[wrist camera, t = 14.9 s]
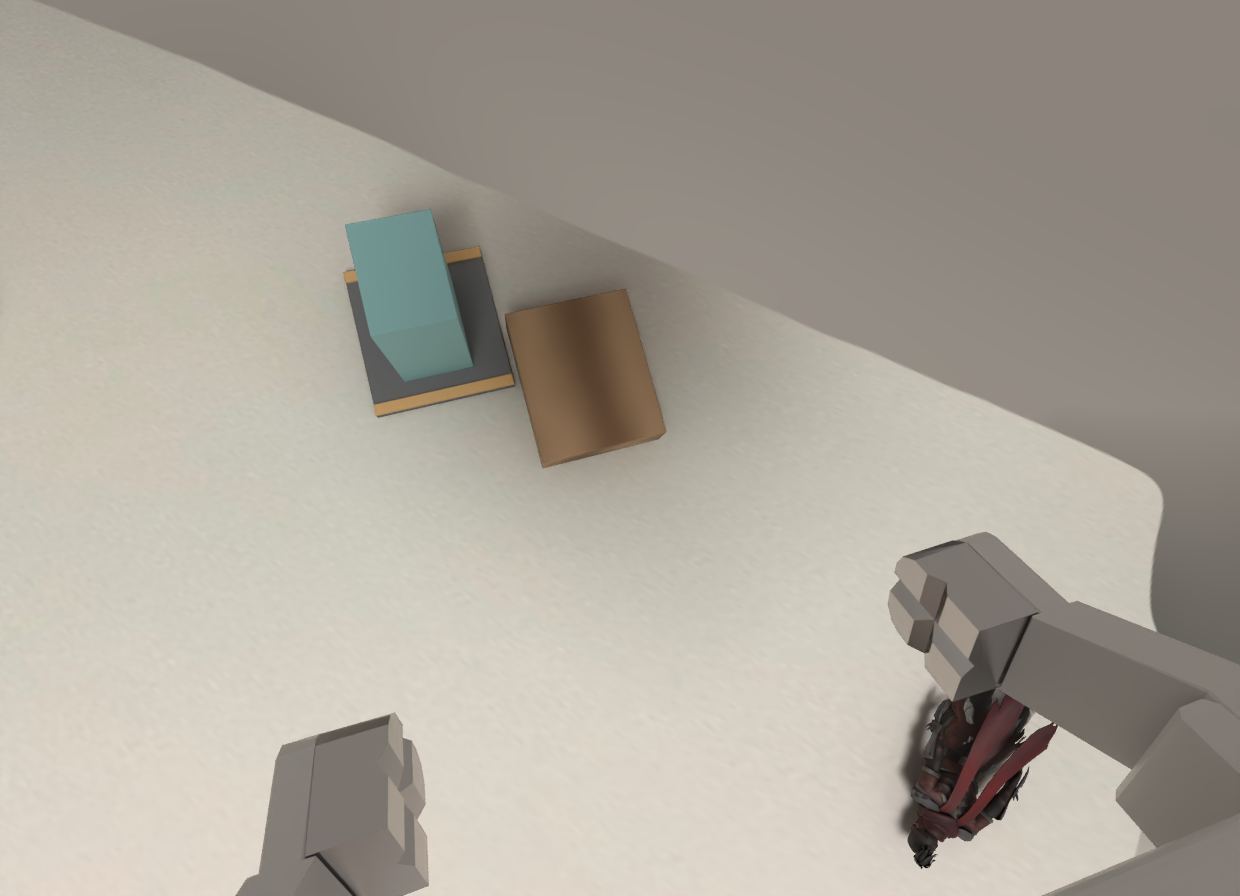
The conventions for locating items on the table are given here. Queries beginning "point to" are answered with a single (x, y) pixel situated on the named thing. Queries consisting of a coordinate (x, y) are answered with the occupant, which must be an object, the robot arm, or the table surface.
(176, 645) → the table surface
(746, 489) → the table surface
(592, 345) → the block
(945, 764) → the action figure
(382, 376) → the mat
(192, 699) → the table surface
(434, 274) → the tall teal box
